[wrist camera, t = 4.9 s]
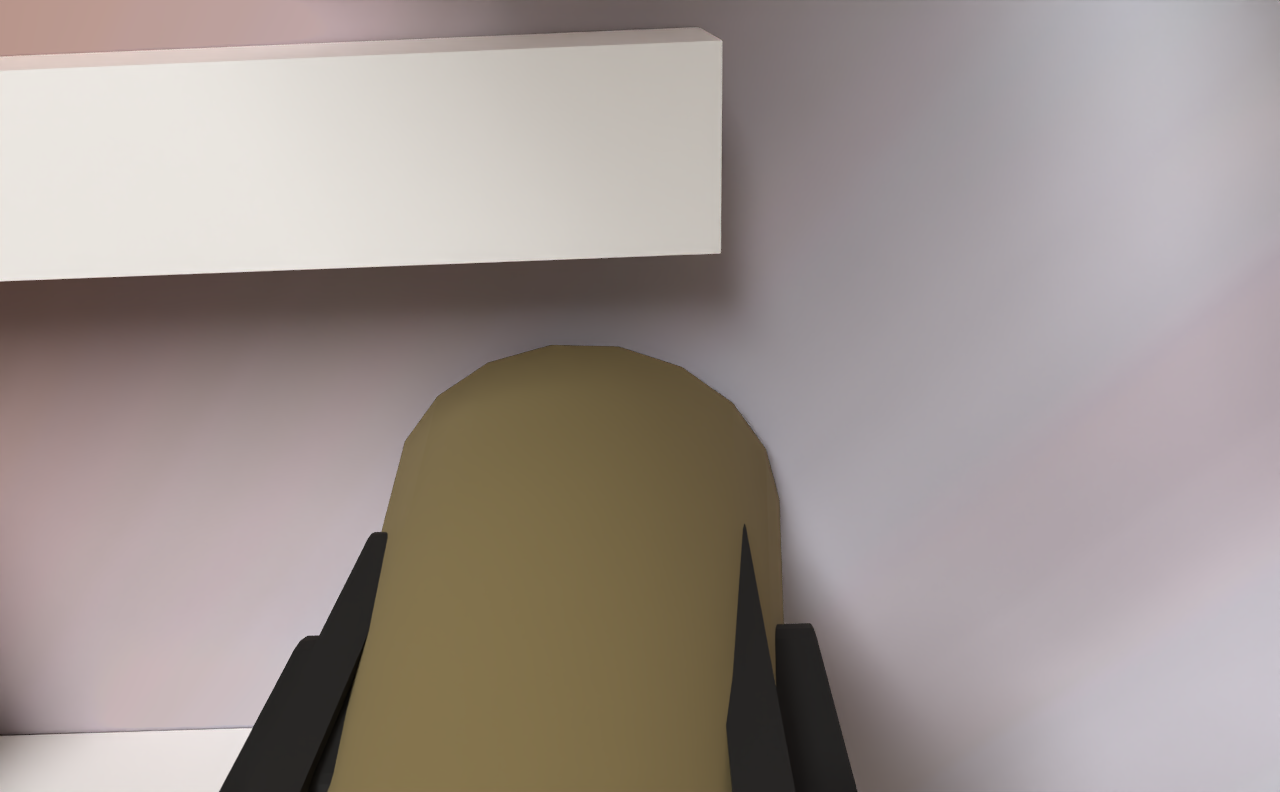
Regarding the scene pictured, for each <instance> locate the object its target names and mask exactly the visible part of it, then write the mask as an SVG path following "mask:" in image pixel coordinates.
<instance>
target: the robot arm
mask: <svg viewBox="0 0 1280 792" xmlns="http://www.w3.org/2000/svg"><path fill="white" fill-rule="evenodd" d="M387 539H388V533H387V532H374V533H372V534H371V535H370V537H369V538H368V540H367V542H366V544H365V546H364V548H363V550H362V552H361V554H360V556H359V558H358V560H357V562H356V564H355V566H354V568H353V570H352V572H351V574H350V576H349V578H348V580H347V581H346V583H345V585H344V587H343V589H342V591H341V593H340V595H339V597H338V599H337V601H336V603H335V605H334V607H333V609H332V611H331V613H330V615H329V617H328V619H327V621H326V623H325V625H324V627H323V629H322V631H321V633H320V635H319V636H307V637H305V638H304V639H302V640H301V641H300V642H299V644H298V645H297V647H296V648H295V649H294V651H293V653H292V655H291V657H290V659H289V660H288V662H287V664H286V666H285V668H284V670H283V672H282V674H281V676H280V677H279V679H278V681H277V683H276V685H275V687H274V689H273V691H272V693H271V694H270V696H269V698H268V700H267V702H266V704H265V706H264V708H263V710H262V711H261V713H260V715H259V717H258V719H257V721H256V723H255V725H254V726H253V728H252V730H251V732H250V734H249V736H248V738H247V740H246V742H245V743H244V745H243V747H242V749H241V751H240V753H239V755H238V757H237V759H236V760H235V762H234V764H233V766H232V768H231V770H230V772H229V774H228V776H227V777H226V779H225V781H224V783H223V785H222V787H221V789H220V791H219V792H327V791H328V789H329V786H330V784H331V780H332V777H333V773H334V769H335V764H336V759H337V754H338V750H339V745H340V740H341V735H342V731H343V726H344V721H345V716H346V711H347V707H348V702H349V697H350V692H351V688H352V683H353V679H354V677H355V674H356V671H357V668H358V665H359V661H360V658H361V655H362V652H363V649H364V645H365V642H366V639H367V636H368V632H369V628H370V623H371V618H372V613H373V608H374V603H375V598H376V593H377V588H378V583H379V578H380V573H381V568H382V563H383V559H384V554H385V549H386V544H387ZM775 662H776V685H775V679H774V674H773V669H772V663H771V658H770V653H769V647H768V642H767V637H766V631H765V626H764V621H763V615H762V610H761V605H760V599H759V594H758V589H757V583H756V578H755V572H754V567H753V562H752V556H751V551H750V546H749V540H748V535H747V530H746V525H745V524H744V526H743V534H742V548H741V562H740V577H739V591H738V605H737V620H736V634H735V648H734V663H733V677H732V684H731V692H730V699H729V707H728V714H727V722H726V731H727V742H728V753H729V763H730V774H731V785H732V792H857V789H856V785H855V781H854V777H853V774H852V770H851V766H850V762H849V758H848V755H847V751H846V747H845V743H844V739H843V736H842V732H841V728H840V724H839V721H838V717H837V713H836V709H835V705H834V702H833V698H832V694H831V690H830V686H829V683H828V679H827V675H826V671H825V668H824V664H823V660H822V656H821V652H820V649H819V645H818V641H817V637H816V634H815V631H814V628H813V627H812V625H811V624H810V623H809V624H777V625H776V629H775Z"/></svg>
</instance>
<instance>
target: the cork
mask: <svg viewBox="0 0 1280 792" xmlns="http://www.w3.org/2000/svg"><path fill="white" fill-rule="evenodd" d="M744 524H745V525H746V530H747V535H748V540H749V546H750V551H751V556H752V562H753V567H754V572H755V578H756V583H757V589H758V594H759V599H760V605H761V610H762V615H763V621H764V626H765V631H766V637H767V642H768V647H769V653H770V658H771V663H772V669H773V674H774V679H775V685H776V662H775V629H776V625H777V624H784V618H783V590H782V561H781V533H780V505H779V497H778V493H777V489H776V485H775V482H774V478H773V474H772V470H771V467H770V463H769V459H768V455H767V452H766V449H765V447H764V446H763V445H762V443H761V442H760V440H759V439H758V438H757V436H756V435H755V433H754V432H753V431H752V429H751V428H750V427H749V425H748V424H747V422H746V421H745V420H744V418H743V417H742V415H741V414H740V413H739V411H738V410H737V408H736V407H735V406H734V404H733V403H732V402H730V401H729V400H728V399H726V398H725V397H723V396H722V395H721V394H719V393H718V392H716V391H715V390H713V389H712V388H711V387H709V386H708V385H706V384H705V383H704V382H702V381H701V380H699V379H698V378H697V377H695V376H694V375H692V374H691V373H689V372H688V371H687V370H685V369H684V368H682V367H680V366H677V365H674V364H671V363H668V362H665V361H662V360H658V359H655V358H652V357H649V356H646V355H643V354H640V353H637V352H634V351H631V350H627V349H624V348H621V347H614V346H570V345H549V346H546V347H542V348H539V349H535V350H532V351H528V352H524V353H521V354H517V355H514V356H510V357H506V358H503V359H499V360H496V361H492V362H488V363H487V364H485V365H484V366H482V367H481V368H479V369H478V370H476V371H475V372H473V373H472V374H470V375H469V376H467V377H466V378H464V379H463V380H461V381H460V382H458V383H457V384H455V385H454V386H452V387H451V388H449V389H448V390H446V391H445V392H443V393H442V394H440V395H439V396H438V397H437V398H436V399H435V401H434V402H433V403H432V405H431V406H430V408H429V409H428V410H427V412H426V413H425V414H424V416H423V417H422V419H421V420H420V421H419V423H418V424H417V425H416V427H415V428H414V430H413V431H412V432H411V434H410V435H409V436H408V438H407V439H406V441H405V443H404V447H403V451H402V455H401V459H400V462H399V466H398V470H397V474H396V478H395V482H394V485H393V489H392V493H391V497H390V501H389V505H388V509H387V512H386V516H385V520H384V524H383V528H382V532H387V533H388V539H387V544H386V549H385V554H384V559H383V563H382V568H381V573H380V578H379V583H378V588H377V593H376V598H375V603H374V608H373V613H372V618H371V623H370V628H369V632H368V636H367V639H366V642H365V645H364V649H363V652H362V655H361V658H360V661H359V665H358V668H357V671H356V674H355V677H354V679H353V683H352V688H351V692H350V697H349V702H348V707H347V711H346V716H345V721H344V726H343V731H342V735H341V740H340V745H339V750H338V754H337V759H336V764H335V769H334V773H333V777H332V780H331V784H330V786H329V789H328V791H327V792H732V785H731V774H730V763H729V753H728V742H727V731H726V722H727V714H728V707H729V699H730V692H731V684H732V677H733V663H734V648H735V634H736V620H737V605H738V591H739V577H740V562H741V548H742V534H743V526H744Z"/></svg>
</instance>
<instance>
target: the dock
mask: <svg viewBox="0 0 1280 792" xmlns="http://www.w3.org/2000/svg"><path fill="white" fill-rule="evenodd" d="M721 168H722V40H721V39H719V38H717V37H716V36H714V35H712V34H710V33H709V32H707V31H705V30H703V29H702V28H700V27H689V28H666V29H642V30H618V31H595V32H571V33H547V34H523V35H500V36H476V37H452V38H429V39H405V40H381V41H358V42H334V43H310V44H287V45H263V46H239V47H216V48H192V49H168V50H145V51H121V52H97V53H74V54H50V55H26V56H3V57H0V281H21V280H47V279H73V278H99V277H125V276H150V275H176V274H202V273H228V272H254V271H280V270H305V269H331V268H357V267H383V266H409V265H435V264H461V263H486V262H512V261H538V260H564V259H590V258H616V257H641V256H667V255H693V254H719V253H721ZM251 730H252V728H236V729H204V730H173V731H141V732H109V733H78V734H46V735H14V736H0V792H219V791H220V789H221V787H222V785H223V783H224V781H225V779H226V777H227V776H228V774H229V772H230V770H231V768H232V766H233V764H234V762H235V760H236V759H237V757H238V755H239V753H240V751H241V749H242V747H243V745H244V743H245V742H246V740H247V738H248V736H249V734H250V732H251Z"/></svg>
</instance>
